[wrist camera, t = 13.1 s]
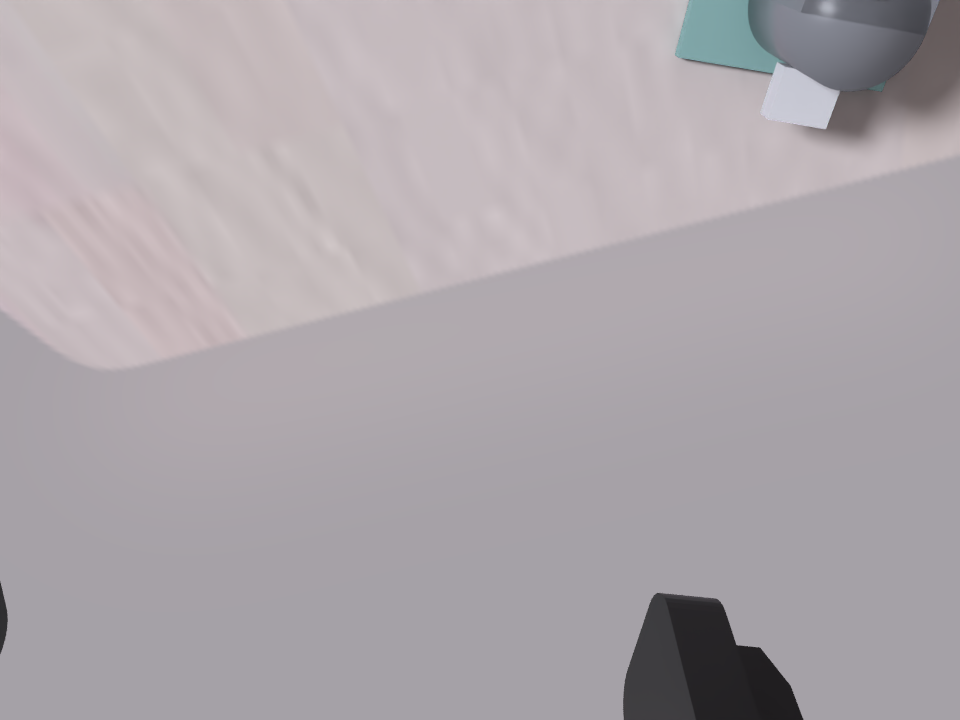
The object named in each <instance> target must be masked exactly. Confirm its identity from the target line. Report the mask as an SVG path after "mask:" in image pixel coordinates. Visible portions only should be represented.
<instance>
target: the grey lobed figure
mask: <svg viewBox="0 0 960 720" xmlns="http://www.w3.org/2000/svg"><path fill="white" fill-rule="evenodd" d="M939 1H940V0H749V3H748V20H749V25H750V29H751V32H752V34H753V36H754V38H755V39H756V41H757V43H758V44H759V45H760V46H761V47H762V48H763V49H764V50H765V51H767V52H768V53H770V54H771V55H773V56H775V57H776V58H778V59H780V60H781V61H783V62H785V63H780V62H777V64H776V67H775V70H774V73H773V76H772V79H771V82H770V85H769V88H768V91H767V94H766V97H765V100H764V103H763V106H762V109H761V112H760V113H761V114H762V115H763V116H764V117H765V118H767V119H768V120H774V121H780V122H786V123H792V124H797V125H803V126H809V127H815V128H821V129H826V127H827V125H828V122H829V119H830V117H831V114H832V111H833V109H834V106H835V103H836V101H837V98H838V95H839V93H840V91H846V92H847V91H859V90H865V89H868V88H871V87H874V86H876V85H879V84H881V83H883V82H884V81H886V80H888V79H889V78H891V77H892V76H894V75H895V74H896V73H898V72H899V71H900V70H901V69H902V68H903V67H904V66H905V65H906V64H907V63H908V62H909V61H910V60H911V58H912V57H913V56H914V54H915V53H916V52H917V50H918V48H919V47H920V45H921V43H922V41H923V39H924V37H925V35H926V32H927V30H928V27H929V25H930V23H931V20H932V18H933V15H934V13H935V10H936V8H937V6H938V3H939Z"/></svg>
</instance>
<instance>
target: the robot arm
mask: <svg viewBox="0 0 960 720" xmlns="http://www.w3.org/2000/svg"><path fill="white" fill-rule="evenodd" d="M7 622H8V619H7V609H6V604H5V600H4V596H3V591H2V587H1V583H0V653H1V650H2V648H3V644H4V641H5V636H6V631H7ZM623 710H624V711H623V712H624V720H803V718H802V715H801V712H800V710H799V707H798V704H797V702H796V699H795V696H794V694H793V691H792V688H791V686H790V685H789V683H788V682H787V681H786V680H785V678H784V677H783V676H782V675H781V673H780V672H779V671H778V670H777V668H776V667H775V666H774V665H773V663H772V662H771V661H770V659H769V658H768V657H767V656H766V655H765V653H764V652H763V651H762V649H761V648H759V647H758V648H757V647H748V646H738V645H736V643H735V640H734V637H733V634H732V631H731V627H730V624H729V621H728V618H727V616H726V612H725V610H724V607H723V605H722V604H721V602H720V601H719V600H717V599H714V598H703V597H694V596H683V595H674V594H663V593H657V594H655V595H654V597H653V598H652V600H651V602H650V605H649V608H648V611H647V614H646V617H645V620H644V623H643V626H642V629H641V632H640V635H639V638H638V641H637V644H636V647H635V650H634V653H633V656H632V659H631V662H630V665H629V667H628V671H627V674H626V679H625V686H624V698H623Z"/></svg>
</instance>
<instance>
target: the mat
mask: <svg viewBox="0 0 960 720" xmlns="http://www.w3.org/2000/svg"><path fill="white" fill-rule="evenodd" d="M748 3H749V0H689V4H688V7H687V11H686V15H685V19H684V23H683V26H682V30H681V34H680V38H679V42H678V45H677V49H676V53H675V55H676V56H677V57H679V58H685V59H690V60H696V61H702V62H708V63H714V64H720V65H726V66H732V67H738V68H744V69H750V70H756V71H762V72H768V73H774V70H775V67H776V64H777V62H780V63H785V62H783V61H781V60H780V59H778V58H776V57H775V56H773V55H771V54H770V53H768V52H767V51H765V50H764V49H763V48H762V47H761V46H760V45H759V44H758V43H757V41H756V39H755V38H754V36H753V34H752V32H751V29H750V25H749V20H748ZM885 83H886V81H884V82H883V83H881V84H879V85H876V86H874V87H871V88H868V89H869V90H874V91H880V92H882V90H883V88H884V85H885Z"/></svg>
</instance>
